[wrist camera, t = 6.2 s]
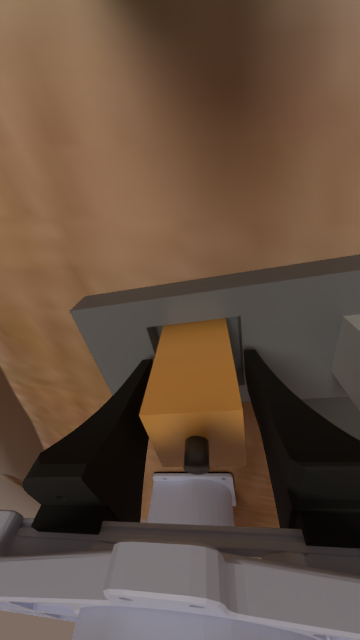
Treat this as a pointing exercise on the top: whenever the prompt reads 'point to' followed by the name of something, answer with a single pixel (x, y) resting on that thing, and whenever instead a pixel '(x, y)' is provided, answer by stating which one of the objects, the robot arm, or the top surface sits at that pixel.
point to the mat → (338, 413)
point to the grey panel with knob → (243, 324)
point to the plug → (195, 399)
